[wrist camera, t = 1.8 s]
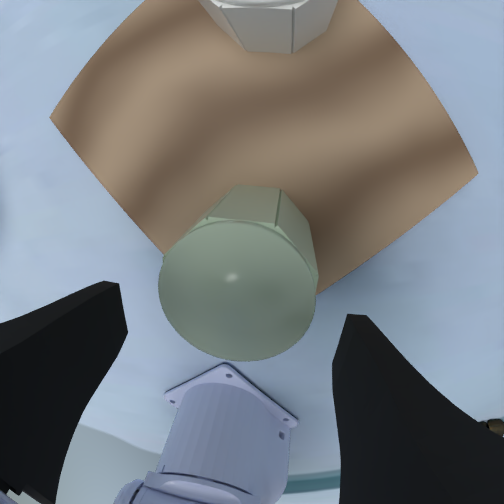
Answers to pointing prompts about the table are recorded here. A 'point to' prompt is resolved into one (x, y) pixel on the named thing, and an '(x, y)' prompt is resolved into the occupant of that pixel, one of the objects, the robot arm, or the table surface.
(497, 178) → the table surface
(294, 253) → the sage green acorn nut
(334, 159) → the walnut board
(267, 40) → the white acorn nut
